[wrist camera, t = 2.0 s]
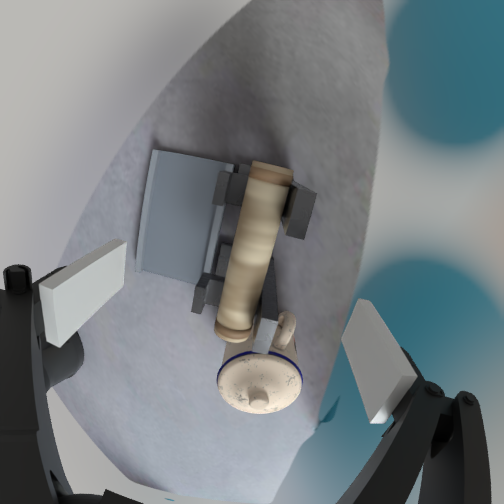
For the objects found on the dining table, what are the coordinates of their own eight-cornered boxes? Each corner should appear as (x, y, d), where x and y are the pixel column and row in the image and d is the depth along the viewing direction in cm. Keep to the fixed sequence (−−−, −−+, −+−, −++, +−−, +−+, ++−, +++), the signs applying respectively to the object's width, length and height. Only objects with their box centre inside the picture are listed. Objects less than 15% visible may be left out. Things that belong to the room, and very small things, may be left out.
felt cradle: (139, 267, 34) (135, 271, 33) (157, 149, 30) (152, 149, 28) (208, 285, 34) (206, 290, 33) (234, 164, 30) (233, 164, 29)
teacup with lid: (275, 375, 38) (277, 439, 27) (215, 351, 37) (199, 414, 26) (320, 308, 35) (341, 367, 24) (254, 278, 34) (248, 333, 23)
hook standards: (211, 272, 34) (181, 339, 21) (236, 162, 30) (214, 159, 17) (265, 285, 34) (265, 359, 21) (295, 176, 30) (319, 185, 17)
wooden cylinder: (241, 321, 26) (255, 342, 24) (209, 322, 25) (220, 344, 22) (281, 167, 22) (303, 173, 19) (245, 158, 21) (264, 162, 18)
